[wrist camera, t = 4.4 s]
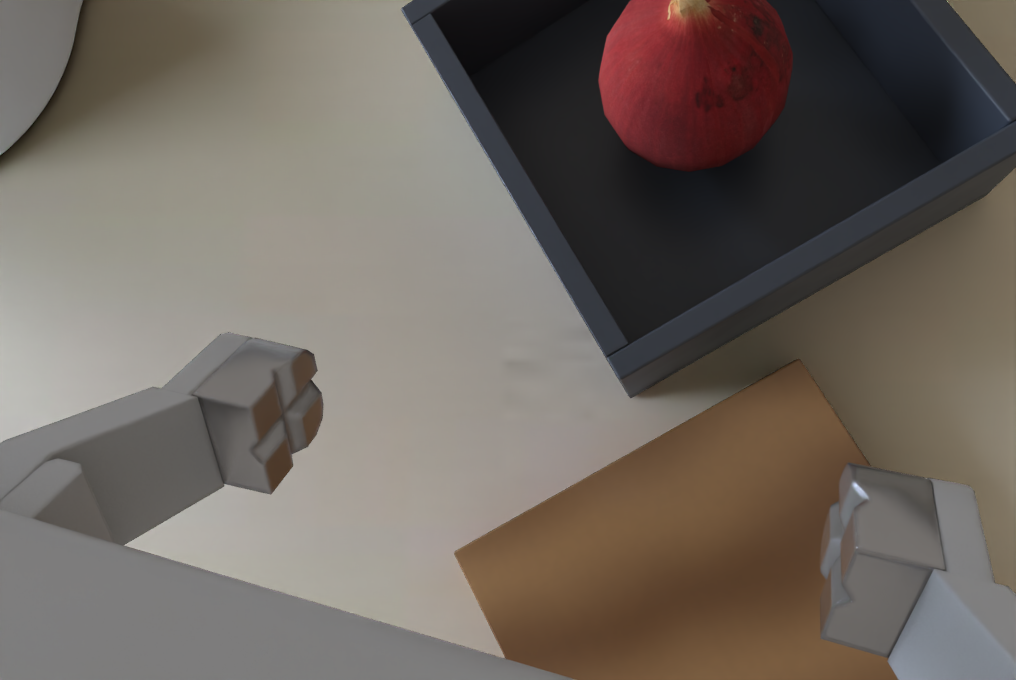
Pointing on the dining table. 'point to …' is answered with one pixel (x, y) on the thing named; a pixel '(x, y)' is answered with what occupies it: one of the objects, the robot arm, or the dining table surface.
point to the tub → (739, 183)
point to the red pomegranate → (694, 79)
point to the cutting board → (684, 552)
